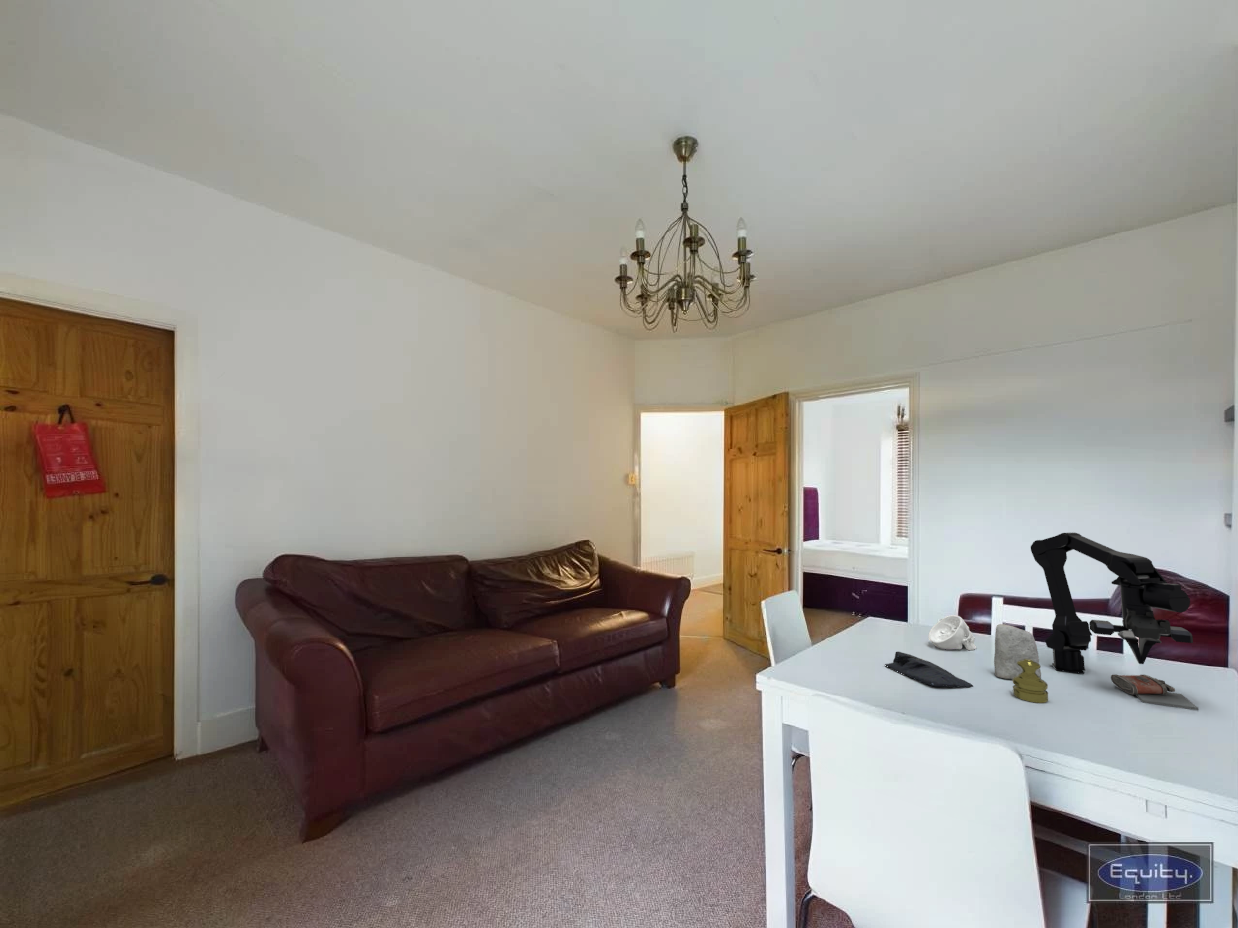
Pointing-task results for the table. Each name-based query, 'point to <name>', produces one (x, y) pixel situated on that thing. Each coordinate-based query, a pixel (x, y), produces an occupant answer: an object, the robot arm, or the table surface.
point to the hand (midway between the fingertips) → (1140, 663)
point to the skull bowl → (952, 634)
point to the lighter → (1141, 684)
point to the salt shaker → (1030, 683)
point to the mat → (1167, 700)
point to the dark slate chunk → (925, 671)
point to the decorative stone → (1013, 650)
